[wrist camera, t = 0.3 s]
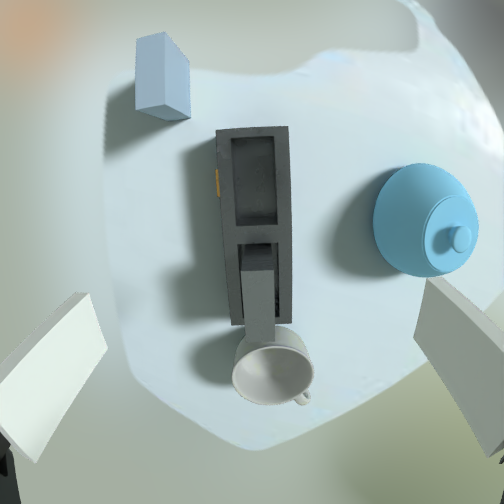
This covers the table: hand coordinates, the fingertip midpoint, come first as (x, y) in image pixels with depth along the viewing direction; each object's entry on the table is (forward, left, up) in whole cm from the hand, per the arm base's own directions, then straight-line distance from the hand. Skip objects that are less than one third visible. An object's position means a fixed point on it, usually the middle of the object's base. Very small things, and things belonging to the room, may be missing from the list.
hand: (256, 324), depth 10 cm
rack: (+3, 0, -26) cm, 26 cm away
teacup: (+23, +2, -27) cm, 35 cm away
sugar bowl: (+2, +22, -27) cm, 34 cm away
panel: (-15, -9, -26) cm, 32 cm away
